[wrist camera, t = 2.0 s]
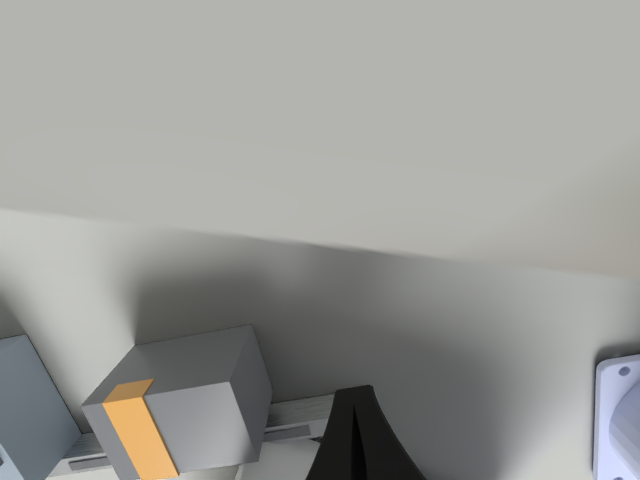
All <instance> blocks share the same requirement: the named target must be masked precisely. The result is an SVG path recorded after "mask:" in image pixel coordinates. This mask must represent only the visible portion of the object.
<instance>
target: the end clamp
mask: <svg viewBox="0 0 640 480" xmlns="http://www.w3.org/2000/svg"><path fill="white" fill-rule="evenodd" d="M80 436H81V432H80V430H79V428H78V427H77V425H76V423H75V421H74V419H73V418H72V416H71V414H70V412H69V410H68V409H67V407H66V405H65V403H64V401H63V400H62V398H61V396H60V394H59V392H58V391H57V389H56V387H55V385H54V383H53V382H52V380H51V378H50V376H49V374H48V373H47V371H46V369H45V367H44V365H43V364H42V362H41V360H40V358H39V356H38V355H37V353H36V351H35V349H34V347H33V346H32V344H31V342H30V340H29V338H28V337H27V335H26V334H25V335H20V336H15V337H10V338H4V339H0V480H45V479H46V478H47V477H48V475H49V474H50V473H51V472H52V470H53V469H54V468H55V467H56V465H57V464H58V463H59V462H60V460H61V459H62V458H63V457H64V455H65V454H66V453H67V452H68V451H69V449H70V448H71V447H72V446H73V444H74V443H75V442H76V441H77V439H78V438H79V437H80Z"/></svg>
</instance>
